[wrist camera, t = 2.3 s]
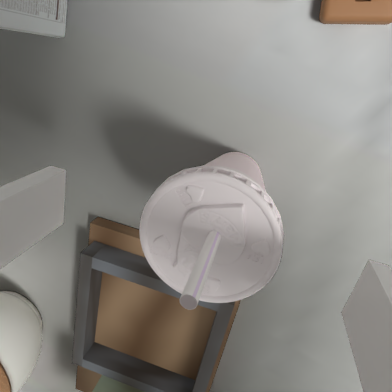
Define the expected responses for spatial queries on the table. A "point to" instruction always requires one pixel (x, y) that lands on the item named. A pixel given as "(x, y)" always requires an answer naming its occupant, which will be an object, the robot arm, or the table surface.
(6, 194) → the robot arm
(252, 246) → the smoothie
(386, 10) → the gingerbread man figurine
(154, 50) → the table surface
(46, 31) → the supplement box
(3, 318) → the lidded jar
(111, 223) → the board
